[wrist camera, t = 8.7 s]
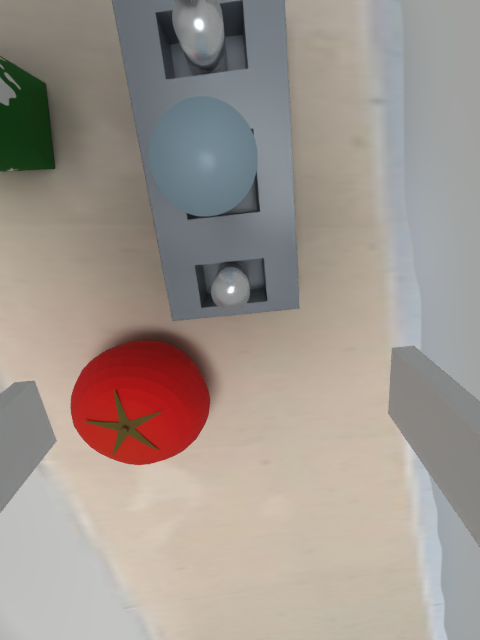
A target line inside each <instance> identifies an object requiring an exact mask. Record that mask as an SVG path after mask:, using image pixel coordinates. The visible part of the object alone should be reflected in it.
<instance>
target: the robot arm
mask: <svg viewBox="0 0 480 640" xmlns="http://www.w3.org/2000/svg"><path fill="white" fill-rule="evenodd" d="M388 414H389V415H390V417H391V418H392V420H393V421H394V422H395V424H396V425H397V427H398V428H399V430H400V431H401V433H402V434H403V436H404V437H405V439H406V440H407V441H408V443H409V444H410V446H411V447H412V449H413V450H414V452H415V453H416V455H417V456H418V458H419V459H420V460H421V462H422V463H423V465H424V466H425V468H426V469H427V471H428V472H429V474H430V475H431V476H432V478H433V479H434V481H435V482H436V484H437V485H438V487H439V488H440V490H441V491H442V493H443V494H444V495H445V497H446V498H447V500H448V501H449V503H450V504H451V506H452V507H453V509H454V510H455V512H456V513H457V514H458V516H459V517H460V519H461V520H462V522H463V523H464V525H465V526H466V528H467V529H468V531H469V532H470V533H471V535H472V536H473V538H474V539H475V541H476V542H477V543H478V545H479V546H480V401H479V400H478V399H476V398H475V397H474V396H472V394H470V393H469V392H468V391H467V390H466V389H465V388H463V387H462V386H461V385H460V384H459V383H457V382H456V381H455V380H454V379H453V378H452V377H450V376H449V375H448V374H447V373H446V372H444V371H443V370H442V369H441V368H440V367H438V366H437V365H436V364H435V363H434V362H433V361H431V360H430V359H429V358H428V357H427V356H425V355H424V354H423V353H422V352H421V351H420V350H418V349H417V348H416V347H415V346H407V347H396V348H392V356H391V374H390V392H389V410H388ZM55 442H56V438H55V435H54V433H53V430H52V427H51V424H50V422H49V419H48V416H47V413H46V411H45V408H44V405H43V402H42V400H41V397H40V394H39V392H38V389H37V386H36V383H35V381H26V382H15V383H13V384H12V385H11V386H10V387H8V388H7V389H6V390H5V391H3V392H2V393H1V394H0V513H1V511H2V510H3V509H4V507H5V506H6V505H7V504H8V502H9V501H10V500H11V499H12V497H13V496H14V495H15V493H16V492H17V491H18V490H19V488H20V487H21V486H22V485H23V483H24V482H25V480H26V479H27V478H28V477H29V476H30V474H31V473H32V472H33V470H34V469H35V468H36V467H37V465H38V464H39V463H40V461H41V460H42V459H43V458H44V456H45V455H46V454H47V453H48V451H49V450H50V449H51V447H52V446H53V445H54V444H55Z"/></svg>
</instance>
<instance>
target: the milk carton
mask: <svg viewBox="0 0 480 640" xmlns="http://www.w3.org/2000/svg"><path fill="white" fill-rule="evenodd" d="M40 169H55V164H54V155H53V146H52V137H51V128H50V119H49V110H48V101H47V92H46V84H45V83H44V82H42V81H41V80H39V79H37V78H36V77H34V76H32V75H31V74H29V73H27V72H26V71H24V70H22V69H21V68H19V67H17V66H16V65H14V64H13V63H11V62H9V61H8V60H6V59H4V58H3V57H1V56H0V172H5V171H24V170H40Z"/></svg>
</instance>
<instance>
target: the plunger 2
mask: <svg viewBox="0 0 480 640" xmlns="http://www.w3.org/2000/svg"><path fill="white" fill-rule="evenodd" d="M211 296H212V299H213V301H214V303H215V304H216V305H217V306H218V307H219V308H221V309H223V310H227V311H235V310H238V309H240V308H242V307H243V306H244V305H245V304H246V303H247V301H248V300H249V296H250V285H249V272H248V269H247V267H246V265H245V264H244V263H243V262H241V261H231V262H223V263H222V264H221V265H220V267H219V269H218V271H217V274H216V277H215V279H214V282H213V285H212V288H211Z"/></svg>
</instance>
